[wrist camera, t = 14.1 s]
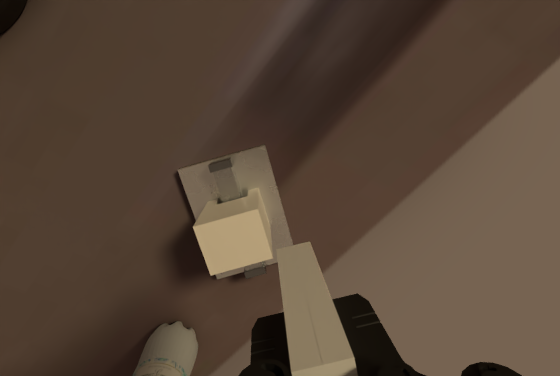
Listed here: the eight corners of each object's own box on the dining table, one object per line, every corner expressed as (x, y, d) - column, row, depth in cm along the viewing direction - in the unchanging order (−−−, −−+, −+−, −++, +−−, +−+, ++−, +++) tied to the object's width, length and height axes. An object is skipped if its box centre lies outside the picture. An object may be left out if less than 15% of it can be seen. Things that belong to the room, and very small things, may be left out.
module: (221, 242, 37) (211, 277, 29) (207, 201, 35) (192, 227, 28) (270, 228, 37) (273, 259, 29) (258, 187, 35) (257, 208, 28)
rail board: (218, 274, 39) (214, 289, 36) (180, 167, 35) (171, 173, 32) (295, 252, 39) (298, 265, 36) (264, 144, 35) (265, 147, 32)
